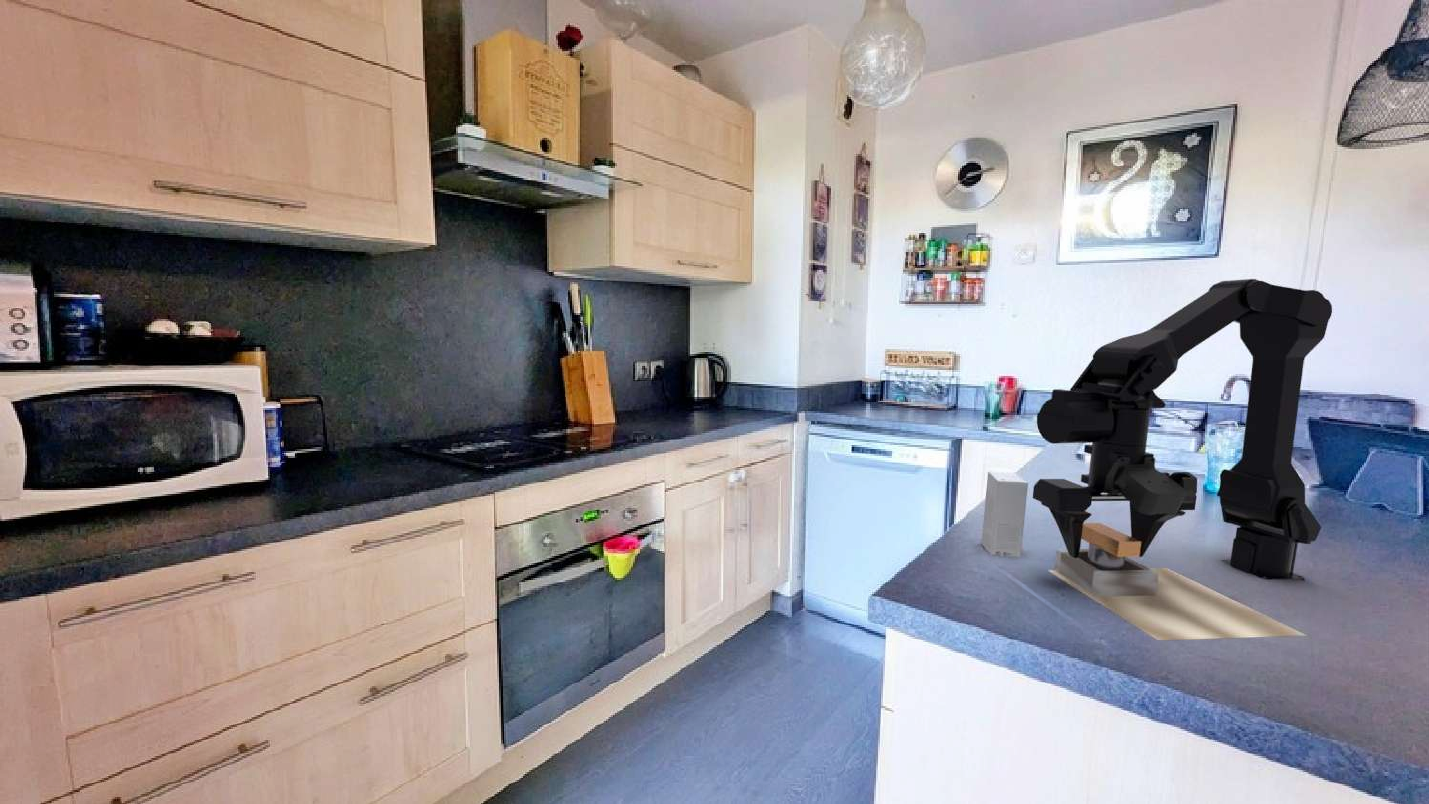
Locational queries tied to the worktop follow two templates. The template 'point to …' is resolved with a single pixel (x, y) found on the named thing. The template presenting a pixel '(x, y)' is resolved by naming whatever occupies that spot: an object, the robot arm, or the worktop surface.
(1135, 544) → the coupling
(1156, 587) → the base
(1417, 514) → the worktop surface
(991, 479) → the skincare box
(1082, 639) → the worktop surface
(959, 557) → the worktop surface
